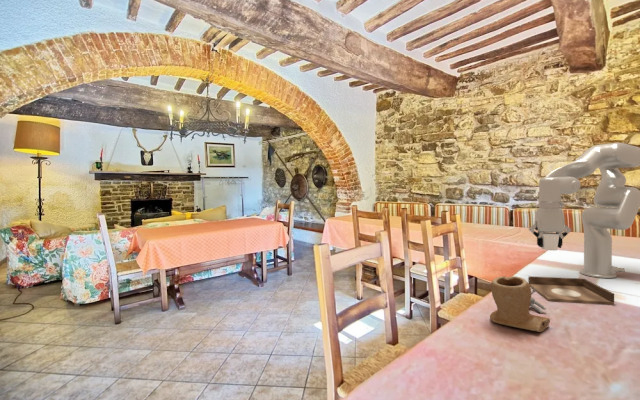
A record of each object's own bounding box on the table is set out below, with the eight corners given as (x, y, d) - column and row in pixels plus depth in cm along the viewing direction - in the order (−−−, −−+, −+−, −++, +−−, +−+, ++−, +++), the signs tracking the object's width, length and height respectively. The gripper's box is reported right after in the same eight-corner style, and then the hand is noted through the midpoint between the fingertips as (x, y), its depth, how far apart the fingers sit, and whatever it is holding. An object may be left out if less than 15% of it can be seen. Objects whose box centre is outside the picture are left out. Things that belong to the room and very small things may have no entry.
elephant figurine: (530, 316, 100) (506, 298, 108) (534, 324, 103) (510, 306, 111) (553, 296, 100) (527, 280, 108) (556, 305, 103) (531, 288, 111)
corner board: (584, 288, 124) (584, 278, 124) (614, 304, 106) (614, 293, 106) (528, 285, 129) (528, 276, 129) (548, 301, 112) (548, 290, 112)
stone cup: (485, 326, 94) (484, 278, 93) (494, 313, 103) (494, 270, 102) (545, 341, 84) (545, 288, 83) (550, 326, 92) (550, 278, 92)
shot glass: (552, 247, 135) (552, 232, 134) (563, 250, 128) (563, 234, 128) (536, 247, 136) (536, 232, 135) (545, 250, 129) (545, 234, 128)
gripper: (569, 205, 132) (568, 246, 133) (523, 205, 137) (523, 244, 138) (578, 206, 125) (577, 249, 126) (530, 206, 130) (529, 248, 131)
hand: (549, 246), depth 132 cm, fingers closed on shot glass, 6 cm apart
